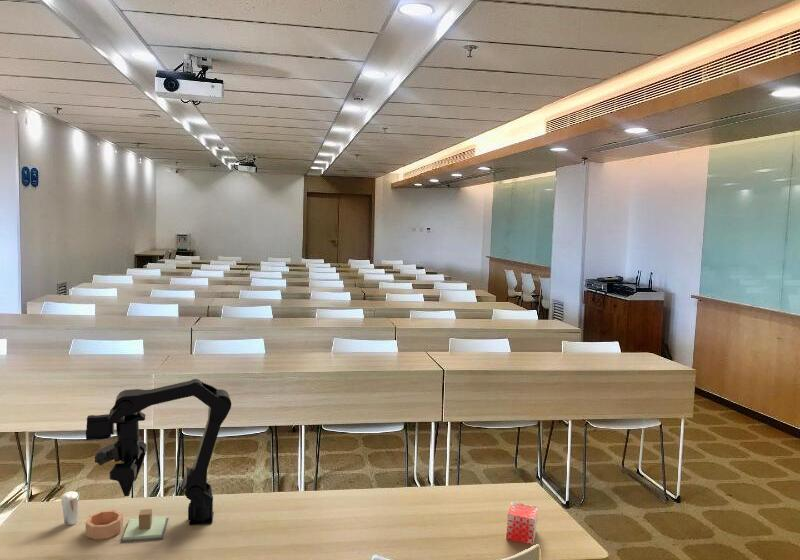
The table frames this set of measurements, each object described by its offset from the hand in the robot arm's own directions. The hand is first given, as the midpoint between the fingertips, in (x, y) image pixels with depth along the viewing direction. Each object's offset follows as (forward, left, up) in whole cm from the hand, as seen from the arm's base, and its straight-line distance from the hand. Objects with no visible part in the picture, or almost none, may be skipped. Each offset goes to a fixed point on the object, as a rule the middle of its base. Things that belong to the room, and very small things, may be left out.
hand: (130, 488), depth 173 cm
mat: (-4, +2, -12) cm, 13 cm away
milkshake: (+17, -5, -13) cm, 22 cm away
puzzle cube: (-112, +20, -13) cm, 115 cm away
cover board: (-4, +2, -12) cm, 13 cm away
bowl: (+7, +1, -12) cm, 14 cm away
